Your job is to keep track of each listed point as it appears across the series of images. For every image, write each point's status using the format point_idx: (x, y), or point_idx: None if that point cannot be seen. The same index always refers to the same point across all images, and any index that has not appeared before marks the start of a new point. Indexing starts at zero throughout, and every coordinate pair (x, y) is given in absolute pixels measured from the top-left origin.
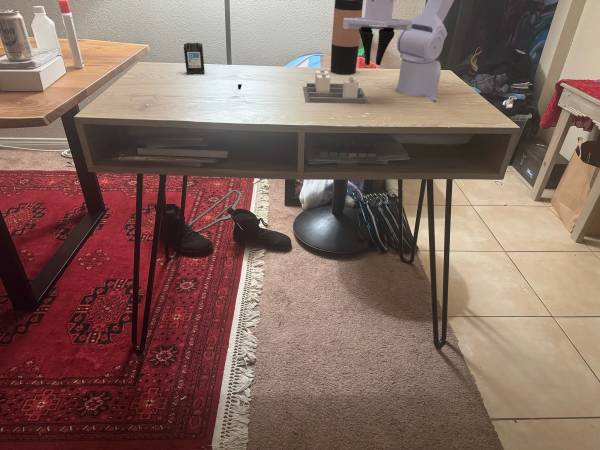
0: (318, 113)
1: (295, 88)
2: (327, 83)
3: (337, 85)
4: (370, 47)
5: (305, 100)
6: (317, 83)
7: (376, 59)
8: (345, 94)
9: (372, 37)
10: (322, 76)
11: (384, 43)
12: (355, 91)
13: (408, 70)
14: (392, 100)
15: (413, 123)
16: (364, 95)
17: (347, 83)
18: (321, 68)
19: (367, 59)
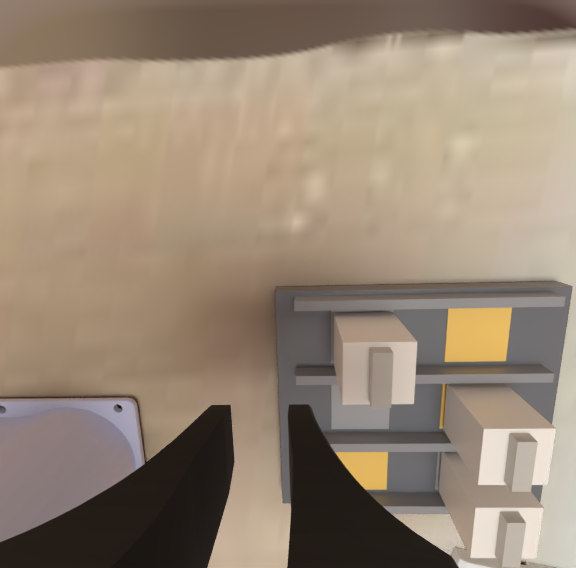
0: (510, 209)
1: (549, 523)
2: (483, 411)
3: (390, 501)
4: (300, 475)
5: (566, 313)
6: (535, 410)
7: (228, 471)
8: (394, 320)
9: (297, 543)
10: (531, 437)
11: (136, 500)
12: (348, 326)
13: (34, 511)
14: (163, 400)
15: (112, 108)
16: (282, 402)
17: (404, 339)
18: (513, 564)
19: (310, 417)
